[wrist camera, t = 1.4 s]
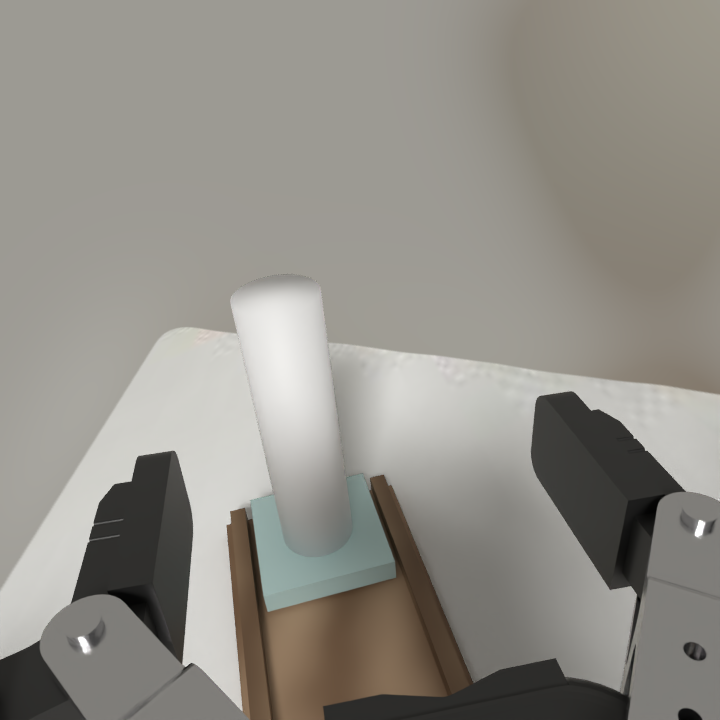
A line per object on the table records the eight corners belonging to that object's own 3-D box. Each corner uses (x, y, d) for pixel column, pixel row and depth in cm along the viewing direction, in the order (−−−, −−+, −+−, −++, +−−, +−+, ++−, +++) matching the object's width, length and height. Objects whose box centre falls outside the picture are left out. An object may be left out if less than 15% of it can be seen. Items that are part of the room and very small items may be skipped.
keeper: (364, 488, 45) (337, 250, 35) (396, 577, 38) (374, 315, 28) (254, 515, 44) (192, 276, 34) (267, 612, 37) (196, 350, 27)
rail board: (391, 492, 46) (388, 454, 44) (553, 888, 26) (561, 851, 24) (228, 533, 44) (217, 494, 42) (270, 991, 24) (252, 961, 22)
